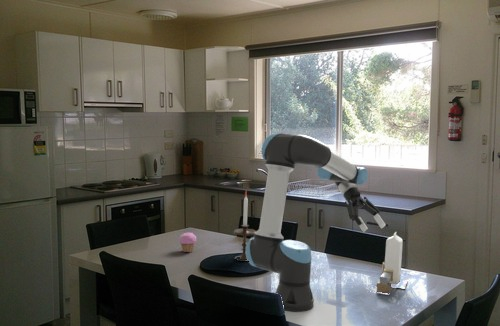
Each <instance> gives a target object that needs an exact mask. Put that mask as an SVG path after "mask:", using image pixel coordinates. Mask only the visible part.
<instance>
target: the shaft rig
mask: <svg viewBox="0 0 500 326" xmlns="http://www.w3.org/2000/svg"><path fill="white" fill-rule="evenodd" d="M381 268H382V269H381V271H382V270H383V273H381V275H380V276H379V277H380V281H379V282H378V283H377V282H376V283H377V286H376V293H377V292H382V293H388V294H389V293H390V292H391V291H392V288H391V283H389V282H390V281H393V280H394V271H393V270H388V269H385V261H383V262H382V267H381ZM391 293H392V292H391Z"/></svg>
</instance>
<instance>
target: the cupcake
mask: <svg viewBox="0 0 500 326" xmlns="http://www.w3.org/2000/svg"><path fill="white" fill-rule="evenodd" d="M178 242H179V243H180V245H181V250H182V251H183V253H186V252H187V253H191V252H193V250H194V247H195V245H194V244H195V243H196V242H197V236H196V235H195V234H194V233H193V232H184V233H182V234H180V236H179V237H178Z"/></svg>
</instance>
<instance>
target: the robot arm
mask: <svg viewBox="0 0 500 326" xmlns="http://www.w3.org/2000/svg"><path fill="white" fill-rule="evenodd" d="M261 155H262V156H261V157H262V158H263V160H264V161H265V167H266V168H267V170H268V171H267V177H266V183H265V184H266V185H265V188H264V189H265V190H264V195H263V203H262V207H261V208H262V209H261V214H260V221H259V227H258V230H255V231H256V232H255V234H254V235H253V236H251V237H250V238H249V239H248V241H247V242H246V244H247V245H246V253H245V254H246V258H247V260H248V261H249V262H248V263H249V265H250V266H252V267H255V268H257V269H259V270H264V271H268V272H273V273H276V274H279V275H278V285H277V288H276V290H275V293H278V294H280V295H281V297H282V301H283V305H284V309H283V310H285V311H289V312H304V311H308V310H311V309H313V307H314V304H315V303H314V302H315V299H314V295H313V291H312V288H311V285H310V284H311V267H312V249H311V247H310V246H309V245H308V244H306V243H305V242H302V241H299V240H292V239H285V240H284V236H283V235H282V233H281V232H282V231H281V230H282V225H283V218H284V213H285V205H286V200H287V193H288V186H289V180H290V173H291V172H293V171H294V170H295V166H296V165H301V166H311V167H314V168H317V169H316V174H317V176H318V177H319V179H321V180H323V181H329V182H333V183H334V184H335V186H336V187H337V189H338V190H339V192H340V193H341V195H342V196H343V198H344V200H345V201H344V203H345V205H346V209H347V213H348V217H349V219H350V220H351V221H353V222H354V221H355V223H356V224H357V225H358V226H359V228H360V229H361V231H362V233H365V232H367V230H369V228H368V226H367V225H366V223H365V222H364V220H363V218H361V216H359V209H361V210H365V211H366V212H368V213H369V214H371V215H372V216H373V219H374V220H375V222H376V223H377V225H378V226H379V227H380V229H383V228H384V227H386V222H385V221H384V220H383V218H382V217H381V215H380V214H379V213H381V210H380V209H379V208H378V207H376V206H375V204H373V203H372V201H370V200H369V199H368V198H367V196H364V197H362V196H361V191H360V190H359V188H358V187H357V186H356V185H365V184H366V183H367V181H368V178H369V171H368V169H367V168H365V167H361V166H356V165H354V164H353V163H350V162H349V161H347V159H346V160H345V159H344V158H342V157H341V156H339V155H338V154H336V153H334V152H333V151H332V150H331V149H330V147H329V146H328V145H326V144H325V143H323V142H321V141H320V140H318V139H315V138H313V137H311V136H308V135H305V134H291V133H282V132H280V133H272V134H269V135H268V136H267V137H266V138H265V139H264V141H263V143H262V145H261Z"/></svg>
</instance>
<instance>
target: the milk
mask: <svg viewBox="0 0 500 326" xmlns="http://www.w3.org/2000/svg"><path fill="white" fill-rule="evenodd" d="M384 255H385V256H384V262H385V269H388V270H393V271H394V280H393V281H390V282H389V283H391V284H398V283H399V282H400V279H401V274H402V273H401V271H402V260H403V238H402V237H401V236H399V235H397V231H395V232H394V233H393V235H392V236H389V237H388V238H387V239H386V241H385V254H384Z"/></svg>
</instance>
